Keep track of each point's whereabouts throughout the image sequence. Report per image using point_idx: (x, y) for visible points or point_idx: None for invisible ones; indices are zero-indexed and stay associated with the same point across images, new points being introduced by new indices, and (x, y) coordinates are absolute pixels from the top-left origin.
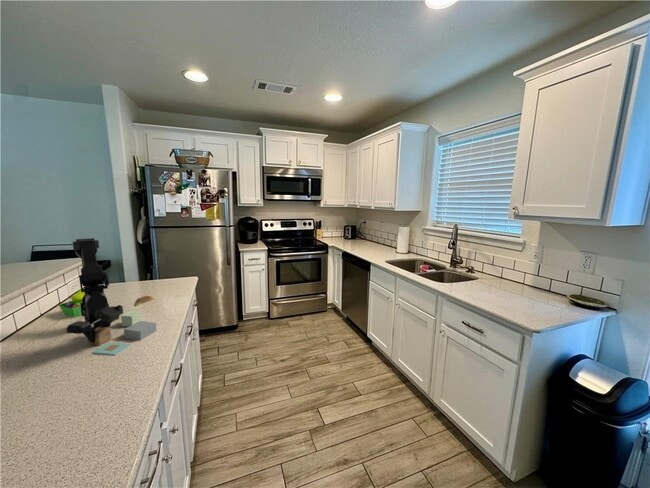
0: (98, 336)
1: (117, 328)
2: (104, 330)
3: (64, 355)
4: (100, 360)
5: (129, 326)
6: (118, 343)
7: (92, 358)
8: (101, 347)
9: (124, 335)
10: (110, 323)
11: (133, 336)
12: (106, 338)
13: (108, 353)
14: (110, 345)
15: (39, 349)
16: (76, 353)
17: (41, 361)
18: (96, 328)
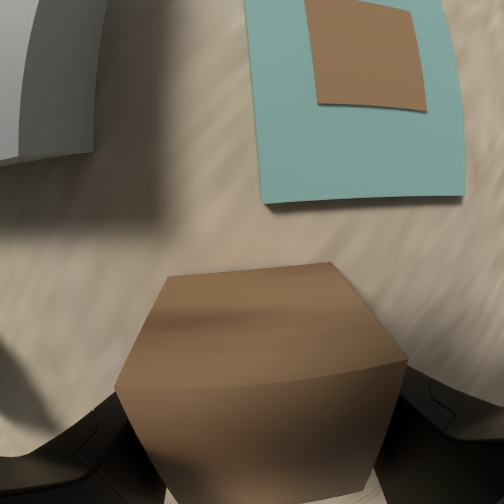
0: (380, 327)
1: (29, 382)
2: (261, 379)
3: (463, 367)
4: (496, 42)
5: None
6: (262, 50)
7: (500, 123)
8: (389, 180)
9: (78, 149)
10: (55, 449)
11: (89, 10)
12: (231, 288)
13: (445, 21)
14: (335, 104)
15: (378, 496)
16: (452, 324)
17: (491, 396)
18: (236, 498)
